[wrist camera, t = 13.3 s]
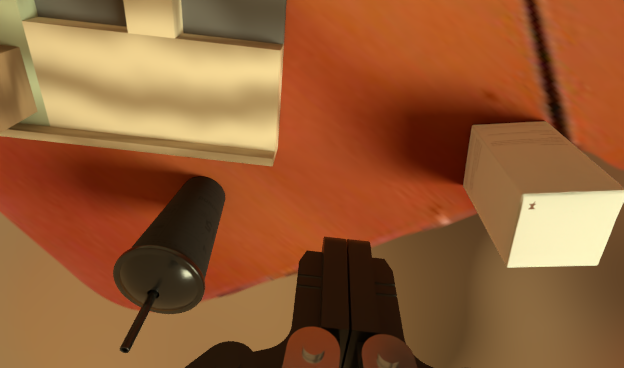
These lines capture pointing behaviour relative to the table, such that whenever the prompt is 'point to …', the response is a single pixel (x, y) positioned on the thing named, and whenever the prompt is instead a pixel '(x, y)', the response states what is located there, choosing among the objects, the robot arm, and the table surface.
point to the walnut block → (14, 88)
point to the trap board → (152, 74)
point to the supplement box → (540, 195)
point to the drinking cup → (172, 255)
